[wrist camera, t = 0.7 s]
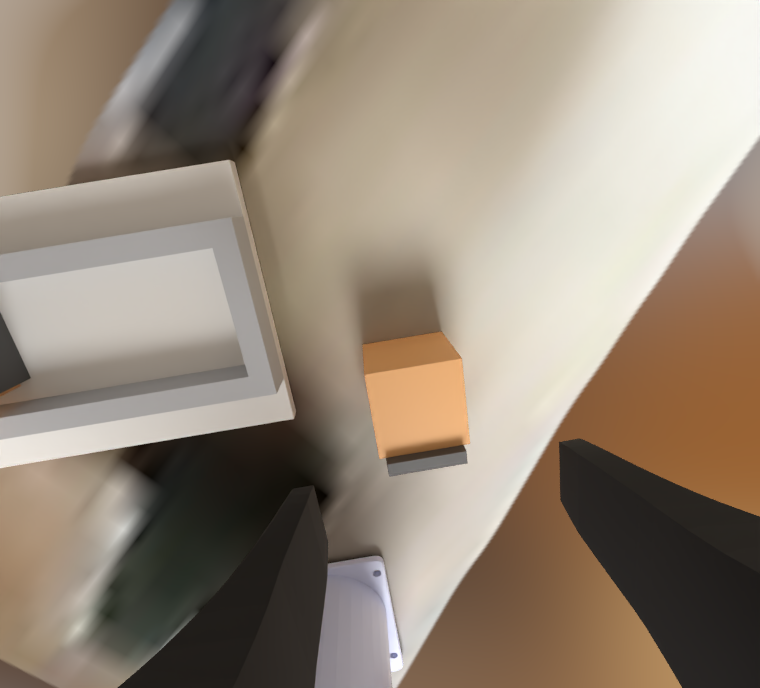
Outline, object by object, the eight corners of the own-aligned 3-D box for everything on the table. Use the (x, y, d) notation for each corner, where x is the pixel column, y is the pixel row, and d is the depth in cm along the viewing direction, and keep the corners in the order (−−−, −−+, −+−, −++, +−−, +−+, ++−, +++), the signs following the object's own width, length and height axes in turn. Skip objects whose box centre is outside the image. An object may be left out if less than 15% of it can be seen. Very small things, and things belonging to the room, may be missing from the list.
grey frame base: (296, 411, 21) (277, 474, 16) (-49, 468, 21) (-180, 551, 16) (235, 162, 17) (184, 139, 12) (-188, 230, 17) (-420, 236, 12)
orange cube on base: (441, 331, 20) (465, 362, 16) (450, 412, 21) (474, 461, 17) (362, 344, 20) (364, 379, 16) (376, 425, 21) (382, 477, 17)
